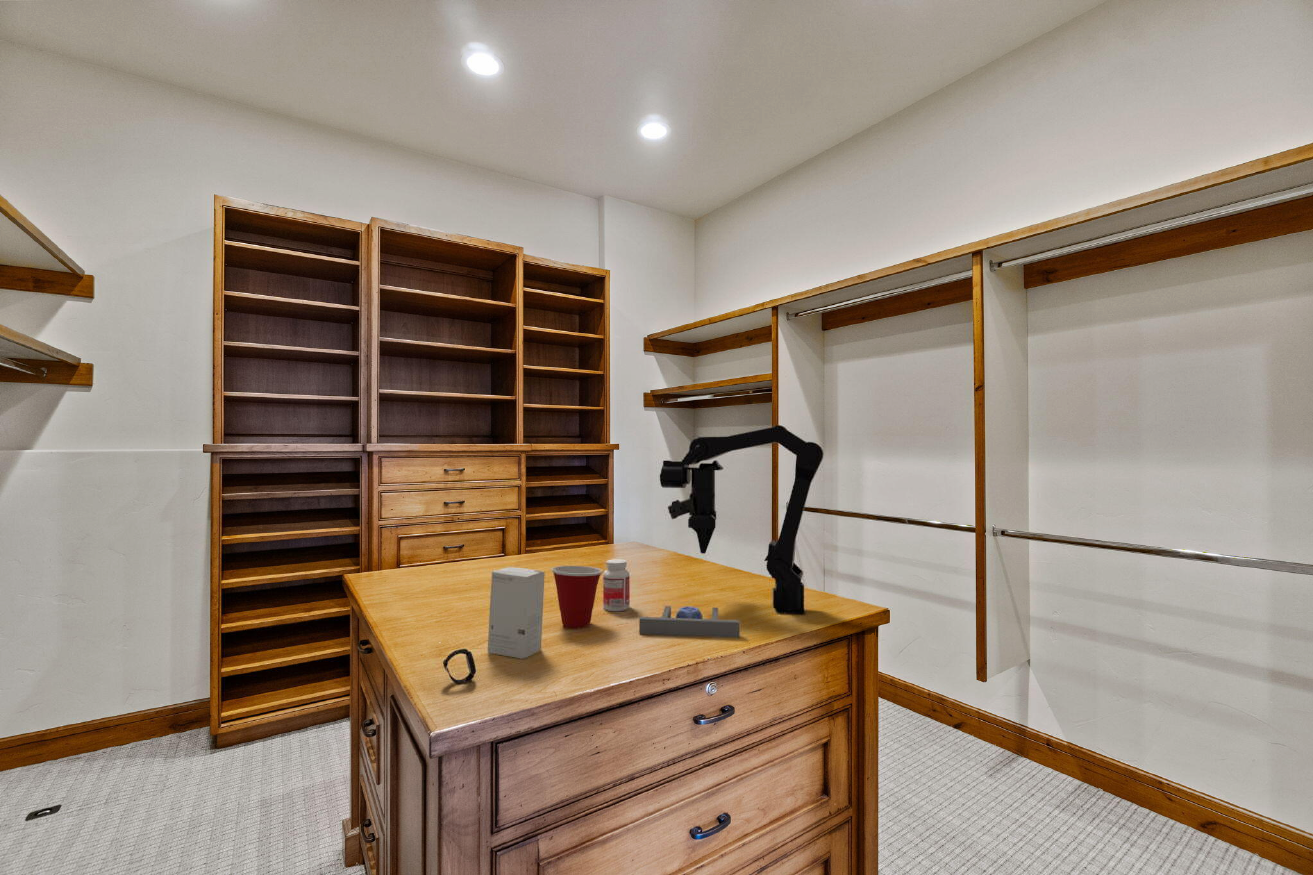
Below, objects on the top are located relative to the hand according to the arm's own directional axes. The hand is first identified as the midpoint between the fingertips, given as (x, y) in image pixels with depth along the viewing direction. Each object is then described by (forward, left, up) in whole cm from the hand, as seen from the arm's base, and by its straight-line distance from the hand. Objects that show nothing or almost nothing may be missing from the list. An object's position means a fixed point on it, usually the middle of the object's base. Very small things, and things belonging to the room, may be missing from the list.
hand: (703, 553), depth 137 cm
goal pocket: (+2, +20, -12) cm, 23 cm away
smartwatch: (+37, +51, -12) cm, 64 cm away
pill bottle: (+20, +7, -12) cm, 24 cm away
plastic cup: (+26, +20, -12) cm, 35 cm away
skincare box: (+33, +37, -12) cm, 51 cm away
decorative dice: (+2, +20, -12) cm, 23 cm away
